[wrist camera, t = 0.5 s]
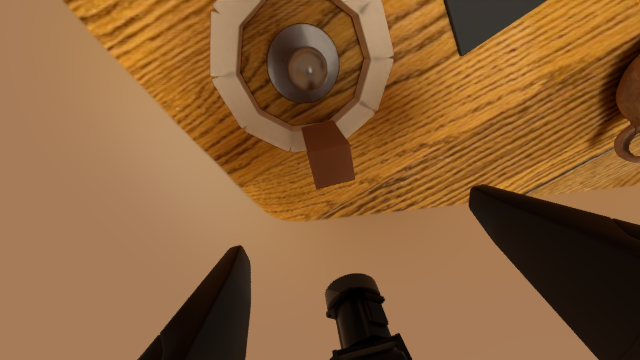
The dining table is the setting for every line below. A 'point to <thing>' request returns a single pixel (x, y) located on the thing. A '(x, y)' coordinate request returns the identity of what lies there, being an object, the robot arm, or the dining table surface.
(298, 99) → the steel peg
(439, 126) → the dining table surface
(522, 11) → the rubber mat
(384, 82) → the ivory ring
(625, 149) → the oil lamp
